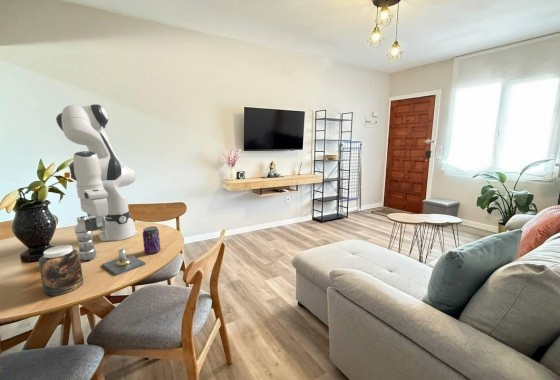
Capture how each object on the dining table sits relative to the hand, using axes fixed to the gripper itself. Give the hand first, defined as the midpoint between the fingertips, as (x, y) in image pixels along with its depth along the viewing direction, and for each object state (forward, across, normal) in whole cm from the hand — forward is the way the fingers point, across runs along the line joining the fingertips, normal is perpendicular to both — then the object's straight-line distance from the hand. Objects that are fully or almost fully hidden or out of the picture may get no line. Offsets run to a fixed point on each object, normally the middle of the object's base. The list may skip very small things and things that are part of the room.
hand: (95, 224), depth 111 cm
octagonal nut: (+2, 0, 0) cm, 2 cm away
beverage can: (+20, +1, +21) cm, 29 cm away
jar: (+20, +6, -14) cm, 25 cm away
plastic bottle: (+19, -15, -1) cm, 24 cm away
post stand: (+19, +5, +6) cm, 21 cm away
